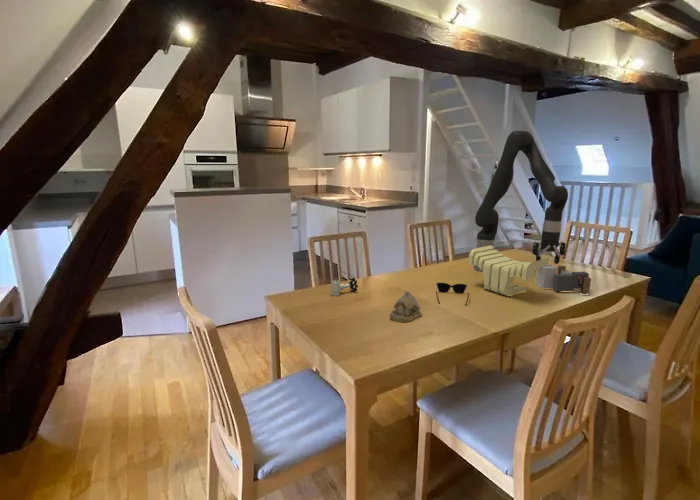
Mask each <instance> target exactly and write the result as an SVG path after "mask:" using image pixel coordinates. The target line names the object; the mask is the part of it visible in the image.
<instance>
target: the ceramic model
mask: <svg viewBox="0 0 700 500" xmlns="http://www.w3.org/2000/svg"><path fill="white" fill-rule="evenodd" d="M393 308H394V309H393V310H392V311H391V312H390V313H389V318H390V319H391V320H392V321H394V322H398V323H406V322H407V323H408V322H411V321H413V320H414V319H417V318H419V317H422V315H423V313H422V312H421V311H420V310H421V305H420V304H419V303H418V300H417V299H416V298H415V296H413V294H412V293H411V292H410V291H404V294H402V296H400V297H399V298H398V299H397V300H396V302H395V303H394V304H393Z"/></svg>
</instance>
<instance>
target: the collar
mask: <svg viewBox="0 0 700 500" xmlns="http://www.w3.org/2000/svg"><path fill="white" fill-rule="evenodd" d="M571 273H572V274H557V273H556V274H555V275H554V283H553V289H552V290H554V291H556V292H560V291H575V290H576V289H580V290H581V284H578V278H579V277H584V278H588V277H589V276H590V275H589V273H588V271H587V272H586V271H571ZM589 278H590V277H589Z"/></svg>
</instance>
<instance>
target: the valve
mask: <svg viewBox="0 0 700 500" xmlns="http://www.w3.org/2000/svg"><path fill="white" fill-rule="evenodd" d="M357 283H358V280H356V277H351V278H350V281H349V283H345V284H344V283H340V280H338V279H332V280H331V286H330V290H331V296H332V297H338V296H340V291H344V290H345V289H348V288H350V290H352V292H358V289H357V288H359V285H358V284H357Z"/></svg>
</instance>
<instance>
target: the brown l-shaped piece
mask: <svg viewBox="0 0 700 500" xmlns="http://www.w3.org/2000/svg"><path fill="white" fill-rule="evenodd" d="M556 274H572V271H569V270H567V266H566V265H558V266H557V271H556ZM591 282H592V278H591V277H588V278H584V277H579V278H578V284H581V288H580V290H579V291H580V292H579V294H580V293H582V294H587V293H589V294H590V289H591Z"/></svg>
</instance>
